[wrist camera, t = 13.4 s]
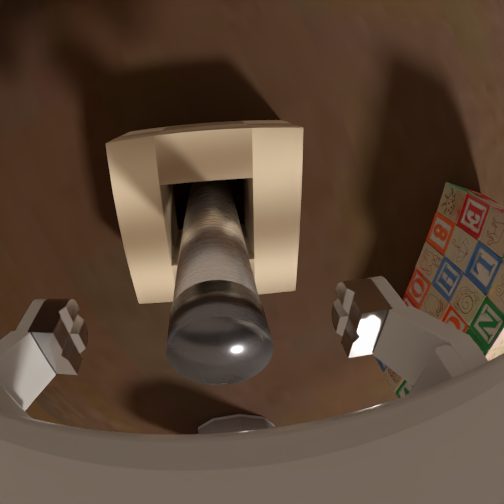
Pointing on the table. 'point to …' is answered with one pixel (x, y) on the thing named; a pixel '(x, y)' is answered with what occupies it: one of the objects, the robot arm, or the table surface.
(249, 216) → the light wooden square frame
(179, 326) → the silver metal rod
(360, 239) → the table surface
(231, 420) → the can
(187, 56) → the table surface
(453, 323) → the stack of blocks
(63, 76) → the table surface
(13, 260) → the table surface
